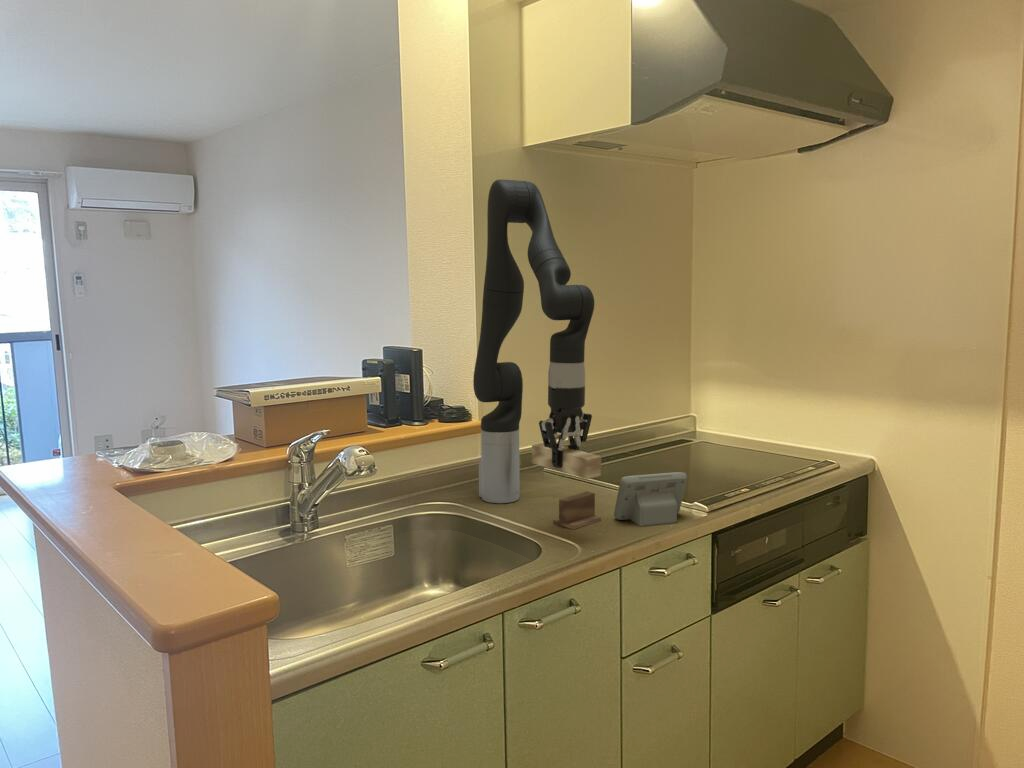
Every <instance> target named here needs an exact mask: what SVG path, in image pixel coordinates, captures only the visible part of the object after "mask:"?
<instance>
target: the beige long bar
mask: <svg viewBox="0 0 1024 768" xmlns="http://www.w3.org/2000/svg"><path fill="white" fill-rule="evenodd" d="M562 450H563V466H562V468H556V467H554V466H553V465H552V449H551V448H548V447H545V446H544V443H543V442H541V443H540V442H539V443H535V444H531V464H532V465H533V464H534V465H536V466H540V467H543V468H546V469H551V470H554V471H558V472H562V473H565V474H569V475H572V476H575V477H579V478H583V479H586V480H590V479H594V478H596V477H601V476H602V455H598V454H594V453H590V452H587V451H582V450H580V449H579V450H575V449H570V448H568V446H567V447H566V446H563V448H562Z"/></svg>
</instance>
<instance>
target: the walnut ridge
mask: <svg viewBox="0 0 1024 768" xmlns="http://www.w3.org/2000/svg"><path fill="white" fill-rule="evenodd" d="M595 501H596V494H595V492H591V491H588V490H587V491H583V492H580V493H577V494H572V495H569V496H566V497H561V498H559V499H558V517H557V518H553V519H552V524H555V525H558V526H560V527H564V528H567V529H571V530H577V529H579V528H583V527H585V526H588V525H591V524H594V523H597V522H600V521H601V520H602V519H601V518H602V516H599V515H596V514H595V513H596V511H595V510H596V504H595V503H596V502H595Z"/></svg>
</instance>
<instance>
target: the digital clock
mask: <svg viewBox="0 0 1024 768" xmlns="http://www.w3.org/2000/svg"><path fill="white" fill-rule="evenodd" d="M687 480H688V475H687V473H686V472H683V471H679V472H678V471H676V472H675V471H674V472H663V473H661V472H660V473H652V474H638V475H637V474H636V475H628V476H623V477H621V479H620V481H619V485H618V491H617V496H616V502H615V505H614V506H615V507H614V512H613V517H614V518H615V519H616V520H621V521H623V520H624V521H625V520H630V521H632V522H633V523H635V524H636V525H637V526H639V527H644V526H645V527H646V526H657V525H664V524H665V525H667V524H675V523H677V520H678V518H677V517H678V515H679V513H680V511H681V506H682V502H683V499H684V495H685V494H684V493H685V489H686V484H687Z"/></svg>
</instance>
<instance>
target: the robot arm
mask: <svg viewBox="0 0 1024 768" xmlns="http://www.w3.org/2000/svg"><path fill="white" fill-rule="evenodd" d="M487 197H488V198H487V211H486V212H487V218H486V219H487V221H486V222H487V223H486V224H487V228H486V229H487V239H486V240H487V241H486V243H487V244H486V245H487V248H486V261H485V262H486V263H485V273H484V281H483V282H484V283H483V293H482V311H481V324H480V332H479V333H480V334H479V340H478V348H477V355H476V359H475V366H474V370H473V380H472V382H473V383H472V384H473V391H474V395H475V398H476V399H477V400H478V401H479V402H481V403H495V402H498V404H497V405H496V407H495V408H494V409H493V410H492V411H490V412H489V413H487V414H486V415H484V416H483V417H481V419H480V446H481V447H480V448H481V449H480V451H481V453H480V455H481V456H480V458H479V459H478V497H479V498H481V500H482V501H485V502H487V503H491V504H508V503H514V502H516V501H518V500H519V499H520V421H521V419H522V408H523V407H522V406H523V392H524V391H523V387H524V384H523V383H524V381H523V375H522V371H521V369H520V367H519V365H518V364H517V363H515V362H513V361H503V362H498V360H499V359H498V358H499V354H500V350H501V347H502V345H503V342H504V341H505V339H506V337H507V336H508V334H509V333H510V332H511V331H512V328H513V327H514V325H515V324H516V322H517V321H518V319H519V317H520V316H521V313H522V310H523V303H524V302H523V301H524V293H525V291H524V290H525V282H524V281H525V280H524V277H523V274H522V272H521V270H520V268H519V265H518V264H517V262H516V260H515V258H514V256H513V253H512V252H511V248H510V245H509V239H508V238H509V237H508V236H509V235H508V226H509V225H508V223H513V224H527V225H528V227H529V229H530V230H531V233H532V234H531V236H530V240H529V243H528V247H527V261H528V263H529V265H530V268H531V270H532V273H533V274H534V276H535V278H536V280H537V282H538V288H539V294H540V304H541V310H542V312H543V314H544V315H545V316H546V317H547V318H548V319H550V320H552V321H569V322H568V324H567V327H566V328H565V329H564V330H561V331H557V332H555V333H553V334H552V335H551V337H550V339H549V364H548V365H549V367H548V377H547V378H548V379H547V380H548V381H547V382H548V386H547V390H548V391H547V405H548V406H549V408H550V413H549V416H548V418H547V419H545V420H540V421H539V422H538V425H539V431H540V433H541V438H542V443H544V446H545V447H548V448H551V449H552V465H553V466H554V467H556V468H562V466H563V450H562V448H563V447H564V443H565V440H567V441H568V444H569V445H568V446H567V448H570V449H575V450H579V451H580V447H581V445H582V443H585V442H587V439H588V435H589V431H590V427H591V422H592V419H593V416H592V414H591V413H587V412H584V411H583V409H582V408H584V406H585V404H586V402H585V401H586V366H585V350H586V348H585V347H586V346H585V344H586V339H587V335H588V332H589V328H590V324H591V321H592V317H593V314H594V311H595V297H594V295H593V294H594V293H593V292H592V290H591V289H590V288H589V286H587V285H584V284H568V283H569V281H570V279H571V274H572V273H571V269H570V265H569V264H568V262H567V261H566V259H565V257H564V255H563V253H562V251H561V249H560V248H559V245H558V244H557V241H556V238H555V235H554V233H553V229H552V225H551V222H550V219H549V214H548V212H547V209H546V205H545V201H544V199H543V196H542V193H541V191H540V190H539V187H538V186H537V185H536V184H535V183H534V182H530V181H527V180H515V179H496V180H494V181H493V182H492V184H491V186H490V189H489V191H488V196H487Z"/></svg>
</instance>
